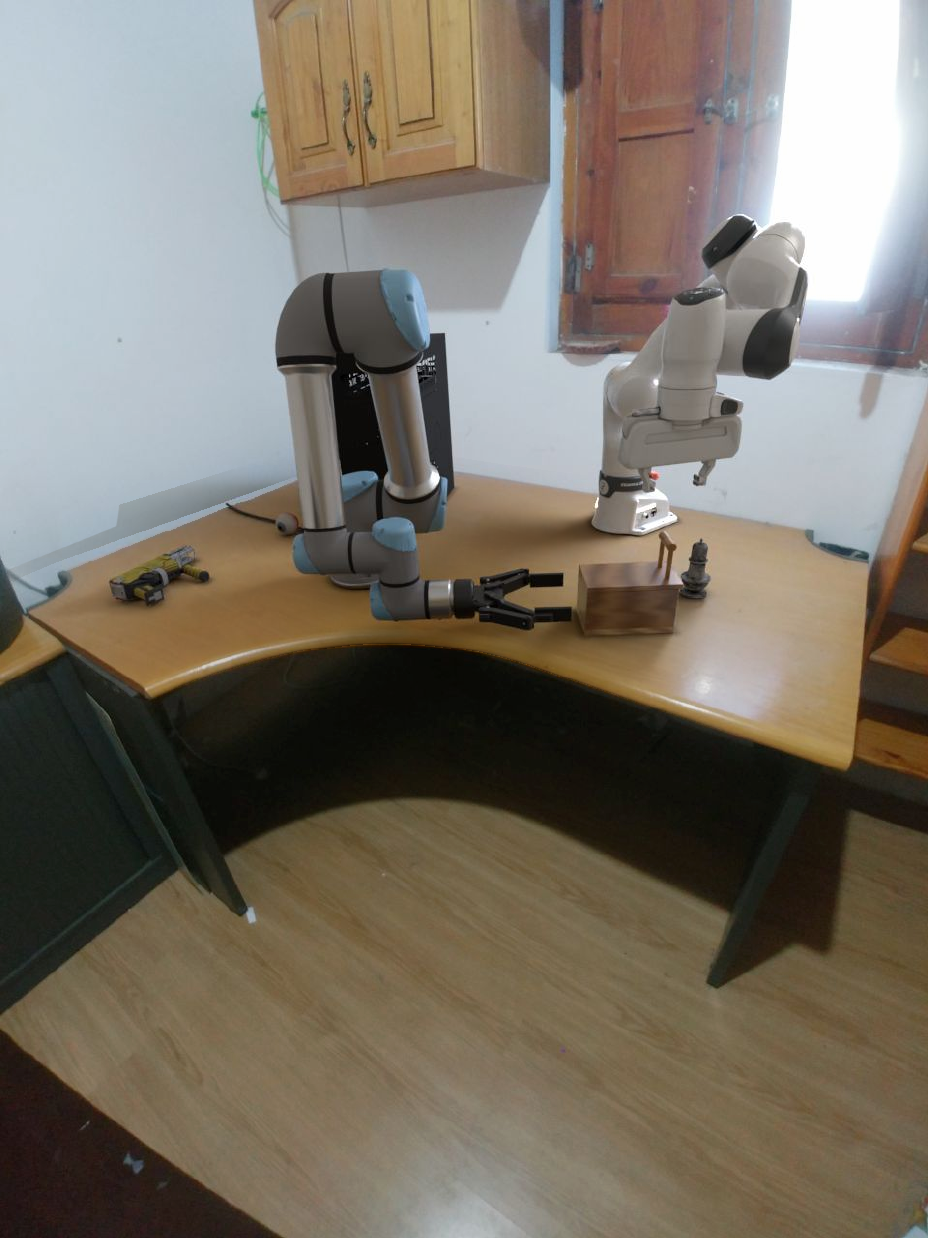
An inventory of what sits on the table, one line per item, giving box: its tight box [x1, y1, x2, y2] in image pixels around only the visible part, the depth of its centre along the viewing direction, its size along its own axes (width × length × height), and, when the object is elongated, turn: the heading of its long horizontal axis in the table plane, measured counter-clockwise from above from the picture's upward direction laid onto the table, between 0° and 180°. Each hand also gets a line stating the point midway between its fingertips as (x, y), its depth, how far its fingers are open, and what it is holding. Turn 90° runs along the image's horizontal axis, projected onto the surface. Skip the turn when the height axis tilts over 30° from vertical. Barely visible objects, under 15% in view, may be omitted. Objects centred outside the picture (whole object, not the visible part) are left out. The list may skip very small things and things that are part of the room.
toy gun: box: [108, 544, 210, 607], centre depth 141 cm, size 5×24×15 cm
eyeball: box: [275, 511, 300, 536], centre depth 163 cm, size 6×6×6 cm
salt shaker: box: [679, 537, 712, 599], centre depth 122 cm, size 6×6×12 cm
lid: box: [578, 530, 685, 593], centre depth 110 cm, size 17×10×8 cm, turn 89°
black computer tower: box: [331, 332, 455, 499], centre depth 168 cm, size 38×20×45 cm, turn 167°
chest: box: [576, 570, 680, 637], centre depth 114 cm, size 16×10×9 cm, turn 89°
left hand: (567, 596), depth 112 cm, fingers open, 13 cm apart
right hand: (673, 488), depth 103 cm, fingers open, 8 cm apart
